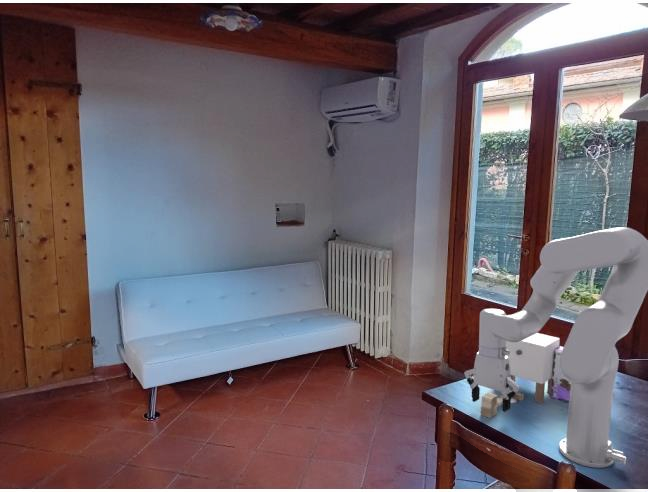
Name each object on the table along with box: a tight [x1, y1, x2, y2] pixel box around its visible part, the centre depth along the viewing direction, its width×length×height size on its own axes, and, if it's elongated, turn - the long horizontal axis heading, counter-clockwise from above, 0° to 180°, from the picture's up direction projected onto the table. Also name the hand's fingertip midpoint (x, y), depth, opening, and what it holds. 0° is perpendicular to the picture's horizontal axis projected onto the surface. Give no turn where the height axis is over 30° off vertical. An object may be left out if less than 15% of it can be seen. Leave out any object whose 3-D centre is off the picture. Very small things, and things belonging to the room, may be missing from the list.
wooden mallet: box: [480, 389, 525, 419], centre depth 152 cm, size 20×6×6 cm, turn 134°
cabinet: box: [505, 332, 560, 404], centre depth 163 cm, size 16×13×19 cm
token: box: [500, 394, 518, 405], centre depth 157 cm, size 5×5×1 cm
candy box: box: [550, 345, 571, 403], centre depth 156 cm, size 14×6×16 cm, turn 47°
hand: (490, 405), depth 146 cm, fingers open, 9 cm apart
